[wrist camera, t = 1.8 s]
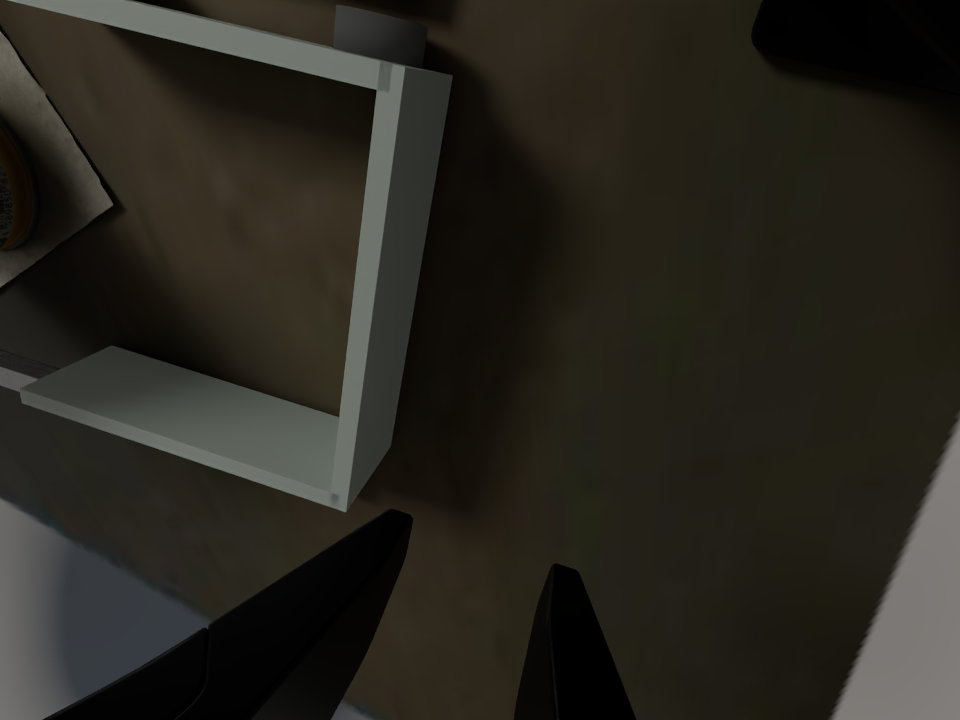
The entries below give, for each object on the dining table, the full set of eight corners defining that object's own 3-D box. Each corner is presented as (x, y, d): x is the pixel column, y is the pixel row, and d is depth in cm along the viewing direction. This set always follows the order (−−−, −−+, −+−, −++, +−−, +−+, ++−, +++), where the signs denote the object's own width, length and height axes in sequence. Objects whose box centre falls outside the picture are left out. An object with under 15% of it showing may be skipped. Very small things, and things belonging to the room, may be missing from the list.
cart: (459, 36, 16) (412, 16, 12) (387, 467, 23) (343, 534, 19) (75, -52, 17) (-68, -93, 14) (114, 378, 24) (26, 426, 20)
